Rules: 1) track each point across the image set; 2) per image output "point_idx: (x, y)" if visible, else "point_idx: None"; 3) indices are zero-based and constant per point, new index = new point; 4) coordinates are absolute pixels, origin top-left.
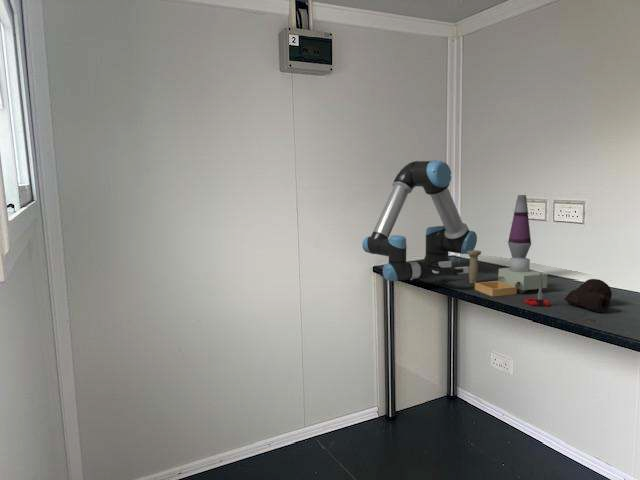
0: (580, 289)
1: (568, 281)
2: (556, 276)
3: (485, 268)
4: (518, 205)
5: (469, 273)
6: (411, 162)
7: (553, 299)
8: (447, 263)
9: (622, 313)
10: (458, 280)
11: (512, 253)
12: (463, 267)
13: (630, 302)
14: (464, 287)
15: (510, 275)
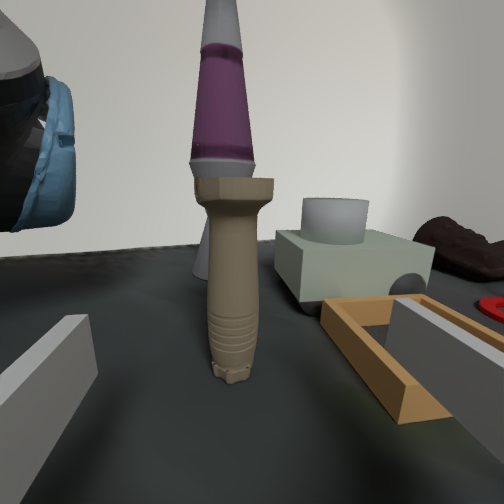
0: (478, 242)
1: (264, 244)
2: None
3: (61, 273)
4: (228, 18)
5: (233, 333)
6: None
7: (441, 286)
8: (57, 376)
9: None
10: (126, 414)
11: None
12: (465, 332)
13: None
14: (341, 469)
15: (369, 261)
